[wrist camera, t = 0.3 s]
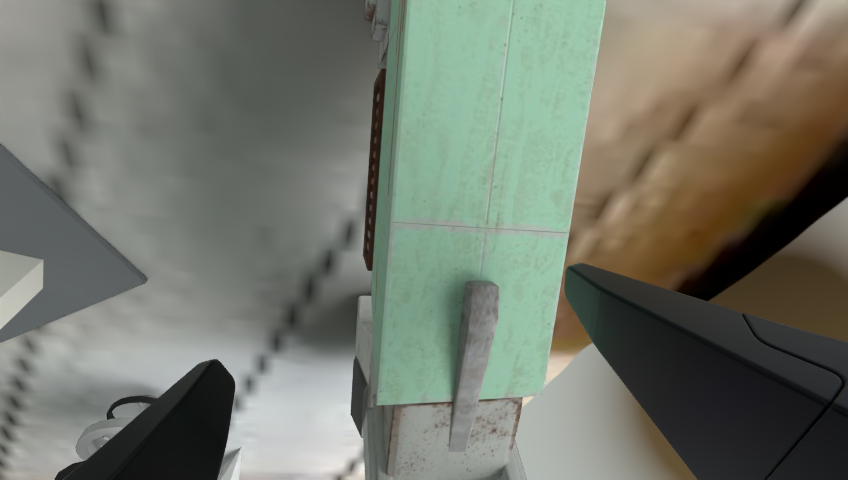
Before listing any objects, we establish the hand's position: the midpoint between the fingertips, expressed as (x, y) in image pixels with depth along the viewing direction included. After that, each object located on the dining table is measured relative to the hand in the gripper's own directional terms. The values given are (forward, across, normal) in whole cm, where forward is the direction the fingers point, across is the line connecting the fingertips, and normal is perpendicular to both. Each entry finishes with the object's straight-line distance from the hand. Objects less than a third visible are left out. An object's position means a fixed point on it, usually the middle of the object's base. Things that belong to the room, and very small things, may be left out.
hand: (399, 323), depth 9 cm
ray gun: (+14, +2, -2) cm, 15 cm away
